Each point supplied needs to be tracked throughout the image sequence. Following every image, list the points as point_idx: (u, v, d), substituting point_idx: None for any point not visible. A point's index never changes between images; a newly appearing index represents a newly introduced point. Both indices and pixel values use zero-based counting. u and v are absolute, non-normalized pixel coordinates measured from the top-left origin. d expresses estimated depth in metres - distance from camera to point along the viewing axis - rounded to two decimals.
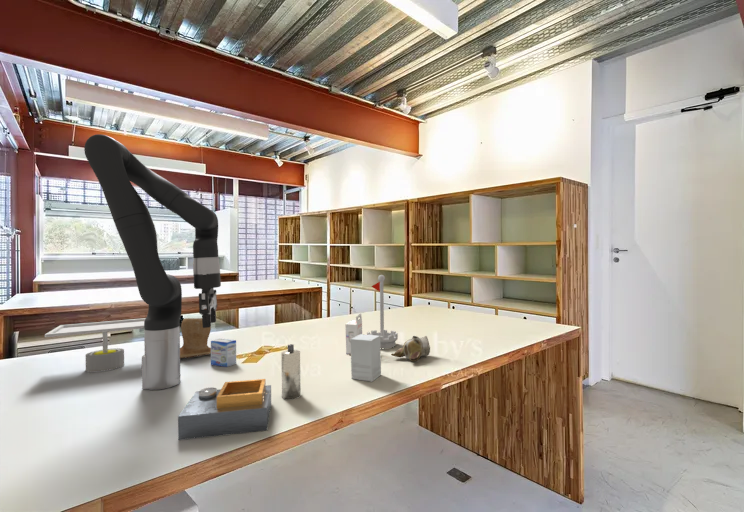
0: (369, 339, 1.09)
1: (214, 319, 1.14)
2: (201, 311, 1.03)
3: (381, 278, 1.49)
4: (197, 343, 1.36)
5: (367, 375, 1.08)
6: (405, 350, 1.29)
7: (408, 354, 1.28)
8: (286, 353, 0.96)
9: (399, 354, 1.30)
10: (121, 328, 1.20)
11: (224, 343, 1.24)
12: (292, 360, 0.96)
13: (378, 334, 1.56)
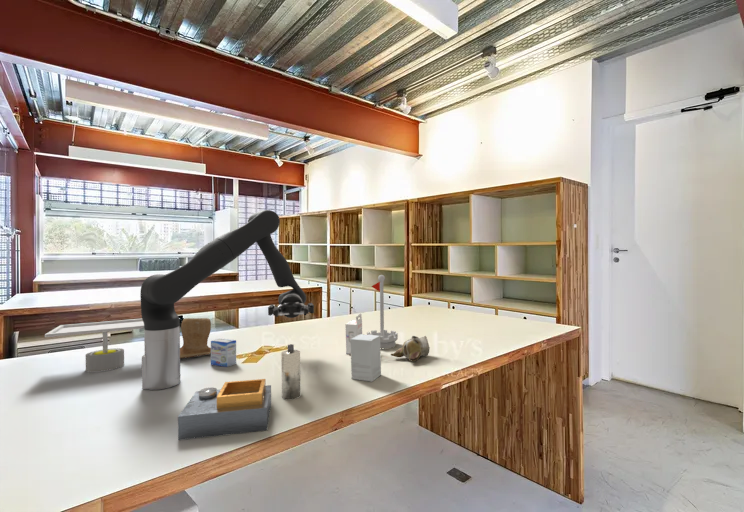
0: (369, 339, 1.09)
1: (277, 315, 1.09)
2: (313, 306, 1.15)
3: (381, 278, 1.49)
4: (197, 343, 1.36)
5: (367, 375, 1.08)
6: (404, 350, 1.29)
7: (407, 354, 1.28)
8: (286, 353, 0.96)
9: (398, 354, 1.30)
10: (121, 328, 1.20)
11: (224, 343, 1.24)
12: (292, 360, 0.96)
13: (378, 334, 1.56)
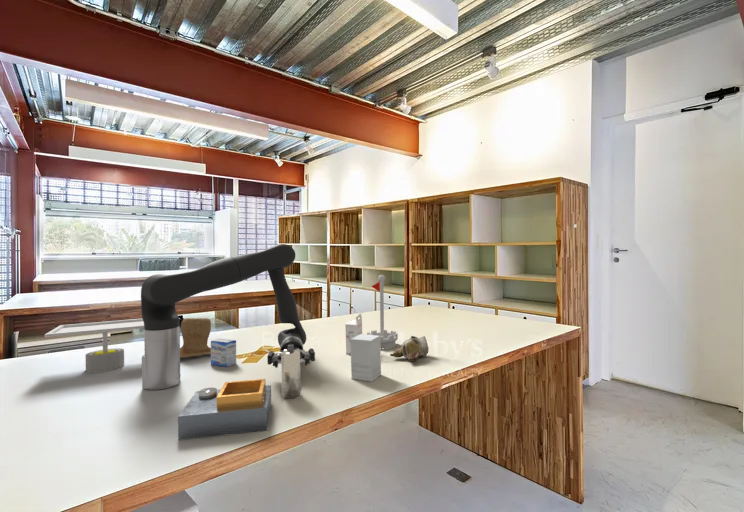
0: (369, 339, 1.09)
1: (277, 365, 1.05)
2: None
3: (381, 278, 1.49)
4: (197, 343, 1.36)
5: (367, 375, 1.08)
6: (404, 350, 1.29)
7: (407, 354, 1.28)
8: (286, 353, 0.96)
9: (398, 354, 1.30)
10: (121, 328, 1.20)
11: (224, 343, 1.24)
12: (292, 360, 0.96)
13: (378, 334, 1.56)
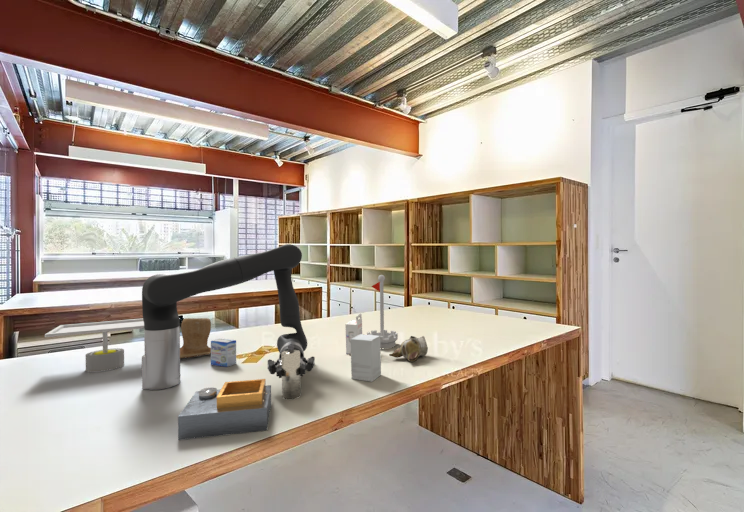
0: (369, 339, 1.09)
1: None
2: (311, 363, 1.01)
3: (381, 278, 1.49)
4: (197, 343, 1.36)
5: (367, 375, 1.08)
6: (403, 350, 1.29)
7: (406, 354, 1.28)
8: (286, 353, 0.96)
9: (397, 354, 1.29)
10: (121, 328, 1.20)
11: (224, 343, 1.24)
12: (292, 360, 0.96)
13: (378, 334, 1.56)
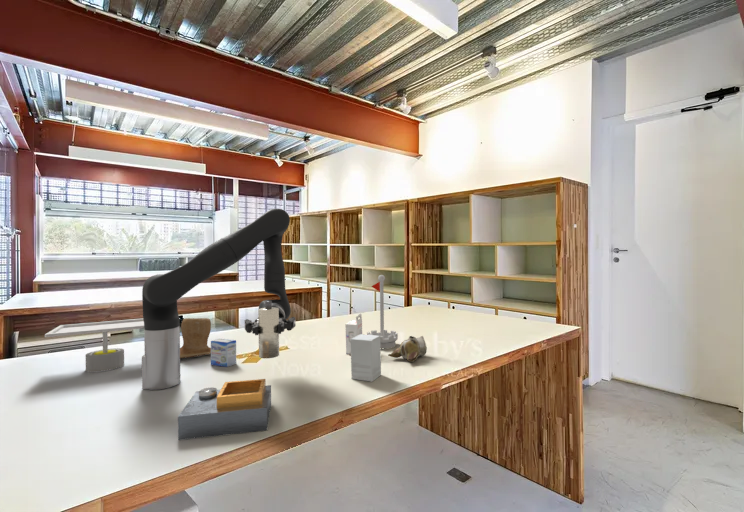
0: (369, 339, 1.09)
1: (258, 333, 0.89)
2: (291, 322, 0.95)
3: (381, 278, 1.49)
4: (197, 343, 1.36)
5: (367, 375, 1.08)
6: (402, 350, 1.29)
7: (405, 354, 1.28)
8: (264, 309, 0.90)
9: (396, 354, 1.29)
10: (121, 328, 1.20)
11: (224, 343, 1.24)
12: (270, 316, 0.89)
13: (378, 334, 1.56)
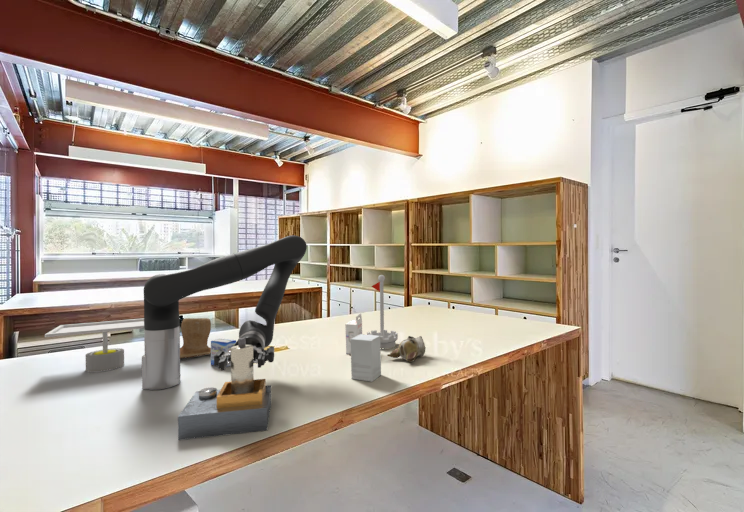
0: (369, 339, 1.09)
1: (224, 367, 0.82)
2: (272, 353, 0.89)
3: (381, 278, 1.49)
4: (197, 343, 1.36)
5: (367, 375, 1.08)
6: (401, 350, 1.28)
7: (404, 354, 1.28)
8: (236, 348, 0.83)
9: (395, 355, 1.29)
10: (121, 328, 1.20)
11: (224, 343, 1.24)
12: (243, 356, 0.82)
13: (378, 334, 1.56)
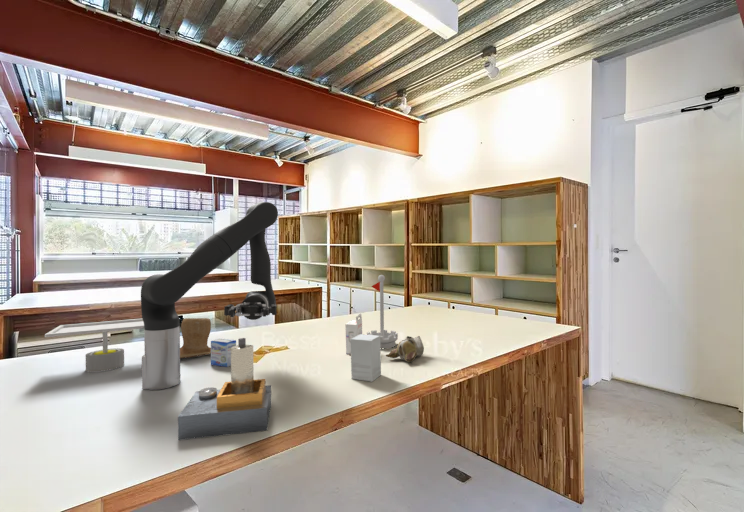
0: (369, 339, 1.09)
1: (233, 315, 0.98)
2: None
3: (381, 278, 1.49)
4: (197, 342, 1.36)
5: (367, 375, 1.08)
6: (400, 351, 1.28)
7: (403, 355, 1.28)
8: (236, 348, 0.83)
9: (394, 355, 1.29)
10: (121, 328, 1.20)
11: (224, 343, 1.24)
12: (243, 356, 0.82)
13: (378, 334, 1.56)
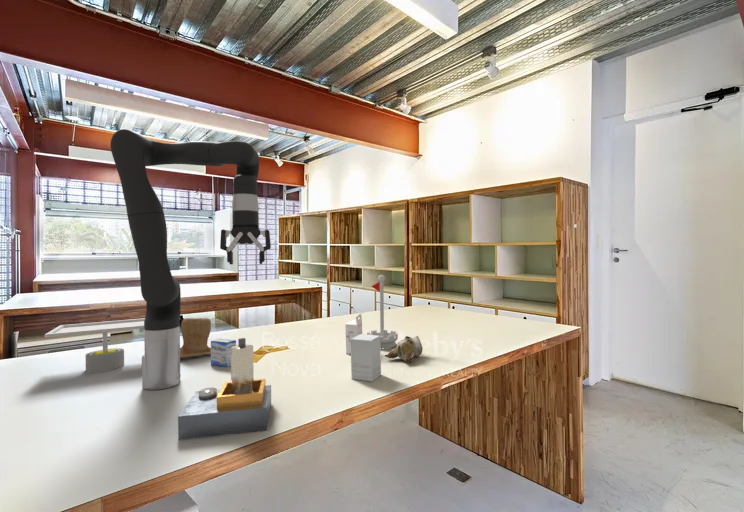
0: (369, 339, 1.09)
1: (232, 260, 1.08)
2: (270, 246, 1.08)
3: (381, 278, 1.49)
4: (197, 343, 1.36)
5: (367, 375, 1.08)
6: (399, 351, 1.28)
7: (402, 355, 1.27)
8: (236, 348, 0.83)
9: (393, 355, 1.29)
10: (121, 328, 1.20)
11: (224, 343, 1.24)
12: (243, 356, 0.82)
13: (378, 334, 1.56)
